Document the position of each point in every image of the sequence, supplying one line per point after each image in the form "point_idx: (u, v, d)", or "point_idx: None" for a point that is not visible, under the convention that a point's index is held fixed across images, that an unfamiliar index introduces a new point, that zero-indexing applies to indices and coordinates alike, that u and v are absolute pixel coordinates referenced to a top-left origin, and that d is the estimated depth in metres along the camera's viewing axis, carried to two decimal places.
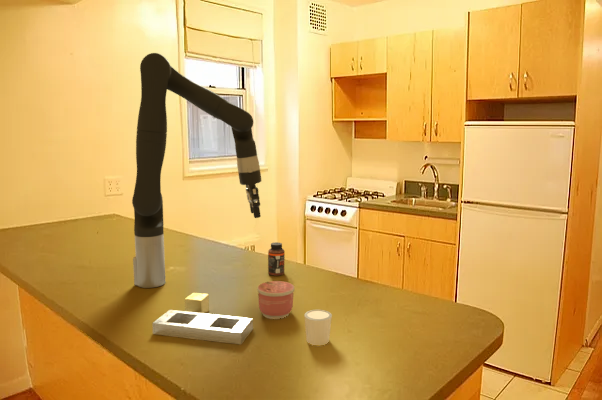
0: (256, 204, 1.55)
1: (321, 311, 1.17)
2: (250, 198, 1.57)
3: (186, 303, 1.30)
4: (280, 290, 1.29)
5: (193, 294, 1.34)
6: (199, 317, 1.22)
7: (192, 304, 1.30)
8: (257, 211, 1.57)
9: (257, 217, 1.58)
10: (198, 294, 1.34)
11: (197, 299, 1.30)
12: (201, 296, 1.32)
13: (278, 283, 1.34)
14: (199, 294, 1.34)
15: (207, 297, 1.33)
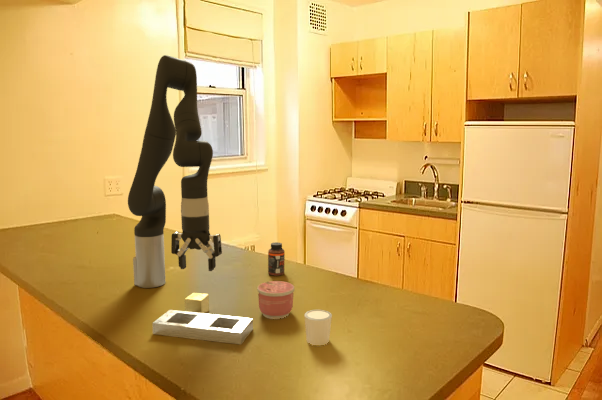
0: None
1: (321, 311, 1.17)
2: None
3: (186, 303, 1.30)
4: (280, 290, 1.29)
5: (193, 294, 1.34)
6: (199, 317, 1.22)
7: (192, 304, 1.30)
8: None
9: None
10: (198, 294, 1.34)
11: (197, 299, 1.30)
12: (201, 296, 1.32)
13: (278, 283, 1.34)
14: (199, 294, 1.34)
15: (207, 297, 1.33)
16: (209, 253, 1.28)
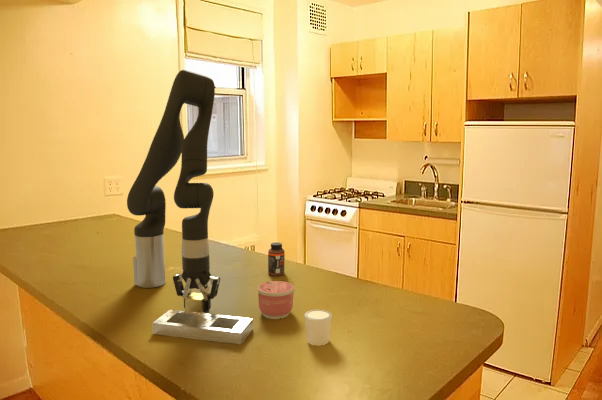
0: None
1: (321, 311, 1.17)
2: None
3: (186, 303, 1.30)
4: (280, 290, 1.29)
5: (193, 294, 1.34)
6: (199, 317, 1.22)
7: (192, 304, 1.30)
8: None
9: None
10: (198, 294, 1.34)
11: (197, 299, 1.30)
12: (201, 295, 1.32)
13: (278, 283, 1.34)
14: (199, 294, 1.34)
15: None
16: (205, 295, 1.30)
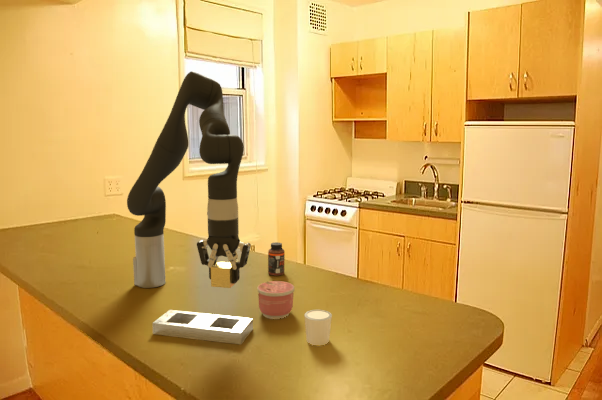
0: None
1: (321, 311, 1.17)
2: None
3: (212, 272, 1.15)
4: (280, 290, 1.29)
5: (219, 263, 1.18)
6: (199, 317, 1.22)
7: (219, 273, 1.14)
8: None
9: None
10: (224, 263, 1.18)
11: (225, 268, 1.14)
12: (228, 264, 1.17)
13: (278, 283, 1.34)
14: (226, 263, 1.18)
15: None
16: (234, 263, 1.15)
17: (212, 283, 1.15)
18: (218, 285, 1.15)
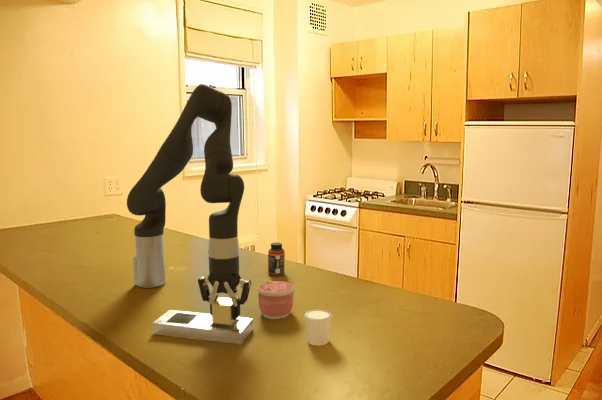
0: None
1: (321, 311, 1.17)
2: None
3: (213, 309, 1.16)
4: (280, 290, 1.29)
5: (220, 299, 1.20)
6: (199, 317, 1.22)
7: (220, 310, 1.16)
8: None
9: None
10: (225, 299, 1.20)
11: (226, 305, 1.16)
12: (229, 300, 1.18)
13: (278, 283, 1.34)
14: (227, 299, 1.20)
15: None
16: (234, 300, 1.16)
17: (213, 319, 1.17)
18: (219, 322, 1.17)
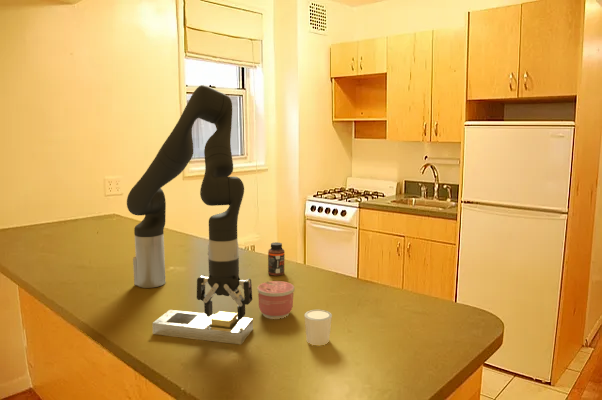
0: None
1: (321, 311, 1.17)
2: None
3: (213, 324, 1.17)
4: (280, 290, 1.29)
5: (220, 313, 1.20)
6: (199, 317, 1.22)
7: (220, 325, 1.17)
8: None
9: None
10: (225, 313, 1.20)
11: (225, 320, 1.16)
12: (229, 315, 1.19)
13: (278, 283, 1.34)
14: (226, 313, 1.20)
15: (235, 316, 1.20)
16: (239, 300, 1.16)
17: None
18: None
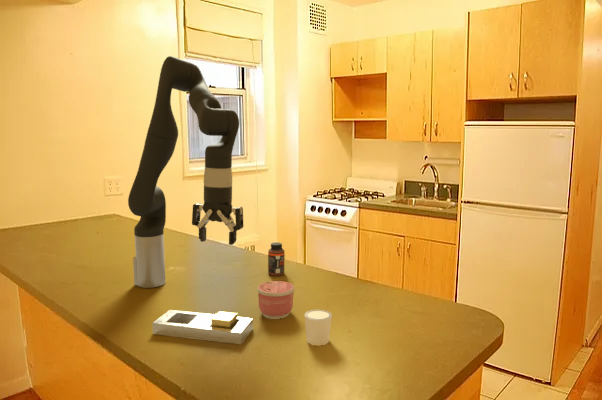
0: None
1: (321, 311, 1.17)
2: None
3: (213, 324, 1.17)
4: (280, 290, 1.29)
5: (220, 313, 1.20)
6: (199, 317, 1.22)
7: (220, 325, 1.17)
8: None
9: None
10: (225, 313, 1.20)
11: (225, 320, 1.16)
12: (229, 315, 1.19)
13: (278, 283, 1.34)
14: (226, 313, 1.20)
15: (235, 316, 1.20)
16: (230, 226, 1.24)
17: None
18: None
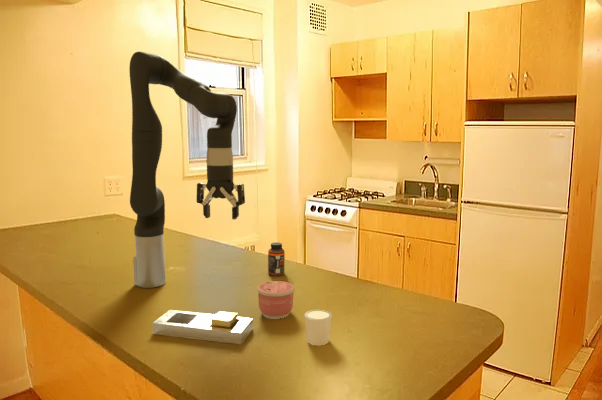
0: None
1: (321, 311, 1.17)
2: None
3: (213, 324, 1.17)
4: (280, 290, 1.29)
5: (220, 313, 1.20)
6: (199, 317, 1.22)
7: (220, 325, 1.17)
8: None
9: None
10: (225, 313, 1.20)
11: (225, 320, 1.16)
12: (229, 315, 1.19)
13: (278, 283, 1.34)
14: (226, 313, 1.20)
15: (235, 317, 1.20)
16: (233, 202, 1.34)
17: None
18: None
